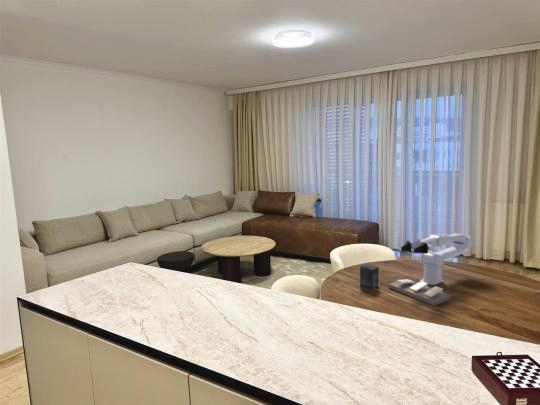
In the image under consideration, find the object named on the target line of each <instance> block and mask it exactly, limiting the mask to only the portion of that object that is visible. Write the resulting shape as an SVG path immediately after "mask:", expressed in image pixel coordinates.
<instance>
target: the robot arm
mask: <svg viewBox="0 0 540 405" xmlns="http://www.w3.org/2000/svg"><path fill="white" fill-rule="evenodd" d="M410 241H411V240H406V241H405V243H404V244H403V245H402V246H401V247H400V250H401V252H410V253H411V252H412V250H413V251H414V252H413V253H414V254H420V253H421V255H420V262H421V263H422V266H423V278H421V279H419V282H421V281H422V282H425V283H428V285H431V286H434V285H435V286H436V285H437V284H440V283H443V282H444V280H443V278H442V276H443V269H442V265H444V264H445V261H446V260H450V259H451V258H452V259H453V258H455V257H458V256H460V255H462V253H464V252H465V251H466V250H469V249H471V248H472V246H473V243H474V237H473V236H472V235H465V234H461V233H457V232H456V233H454V232H453V233H452V234H447V233H446V232H443V233H442V234H441V233H438V234H436V235H435V234H429V235H428V237H426V238H422V239H421V238H416V240H414V241H412V242H410ZM449 244H450V245H449ZM445 245H449V246H450V247H448V248H445V249H442V250H438V251H436V252H434V251H432V250H433V248H442V247H444V246H445Z"/></svg>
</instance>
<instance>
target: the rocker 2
mask: <svg viewBox="0 0 540 405" xmlns="http://www.w3.org/2000/svg"><path fill="white" fill-rule="evenodd" d="M416 283H417V284H416V285H414V286H412V287H411V288H410V290H413V291H415V292H417V291H418V290H420V289H422V288H423V287H425V286H427V287H428V285H429V284H428V283H425V282H422V281H419V282H416Z"/></svg>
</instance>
